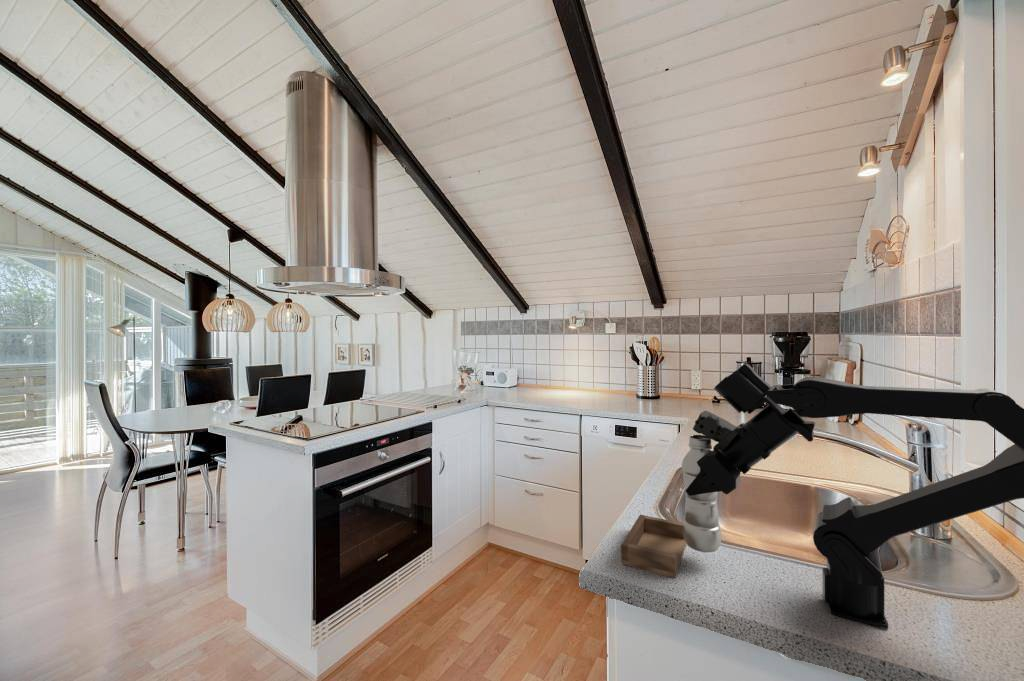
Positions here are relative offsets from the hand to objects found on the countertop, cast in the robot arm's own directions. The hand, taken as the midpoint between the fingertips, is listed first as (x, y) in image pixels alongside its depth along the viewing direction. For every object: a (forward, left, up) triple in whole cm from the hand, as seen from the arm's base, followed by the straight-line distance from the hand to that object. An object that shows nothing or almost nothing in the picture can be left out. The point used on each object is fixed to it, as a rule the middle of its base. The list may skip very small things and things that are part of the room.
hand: (692, 487), depth 76 cm
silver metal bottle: (-1, 0, -11) cm, 11 cm away
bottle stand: (+7, 0, -13) cm, 15 cm away
